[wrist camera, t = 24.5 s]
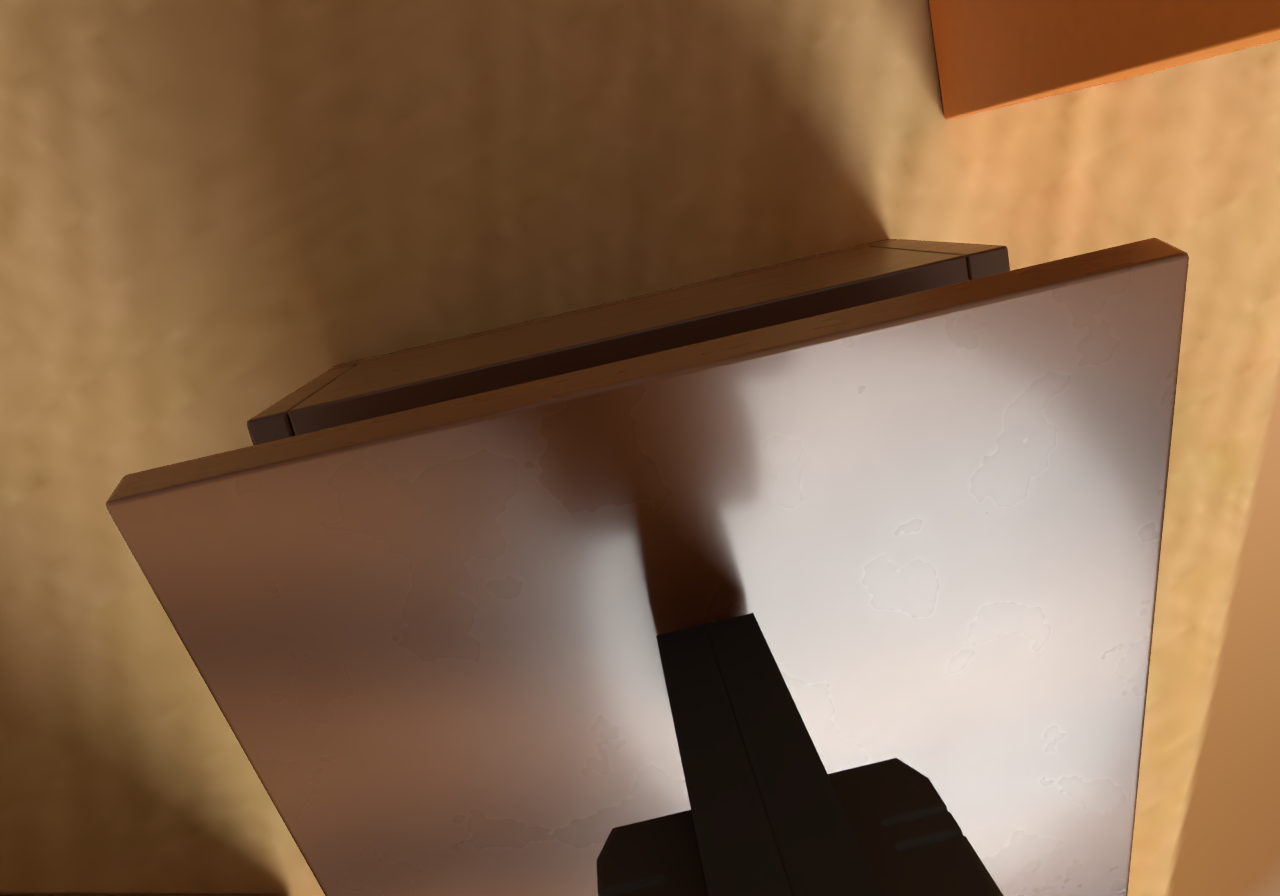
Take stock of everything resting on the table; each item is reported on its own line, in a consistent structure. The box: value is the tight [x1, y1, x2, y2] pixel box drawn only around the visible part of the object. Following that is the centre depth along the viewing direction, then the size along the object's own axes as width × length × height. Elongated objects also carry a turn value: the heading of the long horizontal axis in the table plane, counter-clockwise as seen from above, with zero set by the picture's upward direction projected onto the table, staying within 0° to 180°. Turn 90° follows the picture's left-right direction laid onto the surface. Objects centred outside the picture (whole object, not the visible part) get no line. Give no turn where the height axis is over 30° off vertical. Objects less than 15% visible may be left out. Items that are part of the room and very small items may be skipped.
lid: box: [106, 238, 1189, 896], centre depth 17 cm, size 17×15×1 cm
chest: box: [247, 239, 1010, 445], centre depth 23 cm, size 17×15×7 cm
